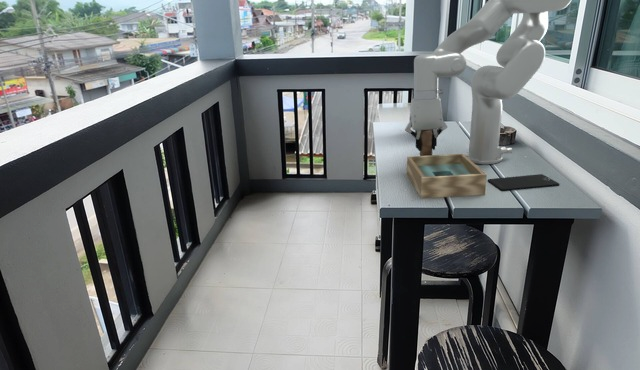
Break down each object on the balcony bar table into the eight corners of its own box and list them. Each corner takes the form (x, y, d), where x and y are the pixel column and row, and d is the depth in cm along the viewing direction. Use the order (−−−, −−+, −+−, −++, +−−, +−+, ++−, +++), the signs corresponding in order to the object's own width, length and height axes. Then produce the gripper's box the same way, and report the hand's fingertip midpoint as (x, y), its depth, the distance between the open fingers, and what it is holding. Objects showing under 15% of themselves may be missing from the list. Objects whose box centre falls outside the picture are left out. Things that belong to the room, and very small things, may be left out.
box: (461, 171, 142) (462, 153, 140) (484, 194, 124) (486, 174, 122) (406, 174, 142) (407, 156, 140) (421, 198, 124) (422, 178, 121)
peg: (430, 155, 150) (430, 127, 146) (433, 159, 146) (433, 130, 142) (418, 156, 150) (418, 128, 146) (421, 160, 146) (421, 131, 142)
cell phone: (560, 186, 127) (560, 183, 127) (501, 192, 126) (501, 189, 125) (542, 176, 136) (542, 173, 135) (486, 181, 134) (486, 179, 133)
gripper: (448, 90, 144) (447, 143, 150) (397, 95, 144) (399, 148, 150) (455, 94, 137) (454, 150, 143) (402, 99, 137) (403, 154, 143)
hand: (426, 148), depth 147 cm, fingers closed on peg, 4 cm apart
